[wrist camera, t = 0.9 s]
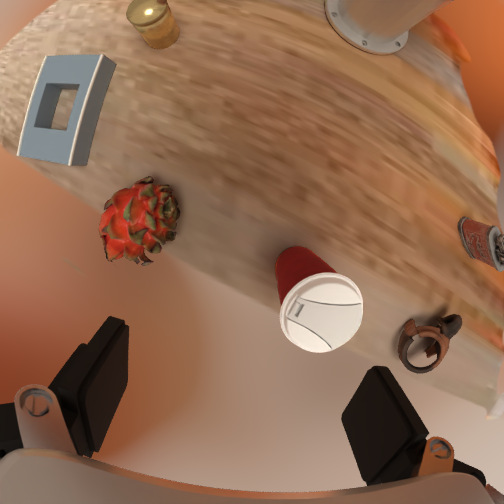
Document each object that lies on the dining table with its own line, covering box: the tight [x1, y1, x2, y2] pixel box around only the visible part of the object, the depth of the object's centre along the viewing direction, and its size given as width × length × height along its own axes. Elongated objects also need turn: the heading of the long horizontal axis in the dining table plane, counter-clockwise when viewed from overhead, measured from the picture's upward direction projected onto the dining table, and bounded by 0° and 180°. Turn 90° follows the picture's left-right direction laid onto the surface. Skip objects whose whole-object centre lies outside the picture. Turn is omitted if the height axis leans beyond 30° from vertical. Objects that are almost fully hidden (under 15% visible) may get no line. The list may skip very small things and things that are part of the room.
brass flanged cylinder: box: [126, 0, 179, 49], centre depth 24 cm, size 4×4×8 cm
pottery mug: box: [398, 314, 462, 373], centre depth 39 cm, size 12×10×8 cm
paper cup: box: [275, 246, 363, 352], centre depth 30 cm, size 8×8×14 cm
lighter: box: [458, 217, 504, 272], centre depth 32 cm, size 8×3×10 cm, turn 42°
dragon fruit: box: [99, 176, 180, 266], centre depth 31 cm, size 8×8×12 cm
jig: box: [17, 54, 116, 166], centre depth 28 cm, size 14×10×4 cm
